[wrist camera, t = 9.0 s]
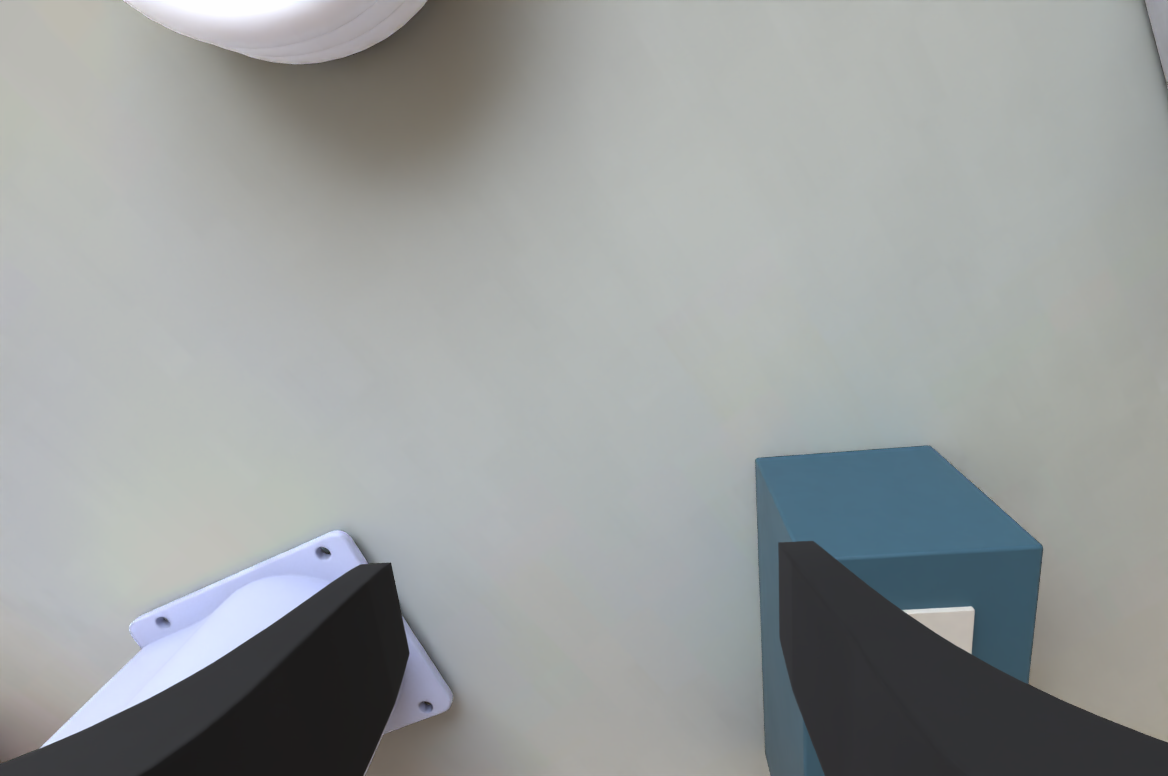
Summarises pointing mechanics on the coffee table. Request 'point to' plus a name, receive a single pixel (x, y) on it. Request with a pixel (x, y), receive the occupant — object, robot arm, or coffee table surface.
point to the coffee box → (1160, 29)
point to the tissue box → (894, 563)
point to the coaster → (284, 25)
